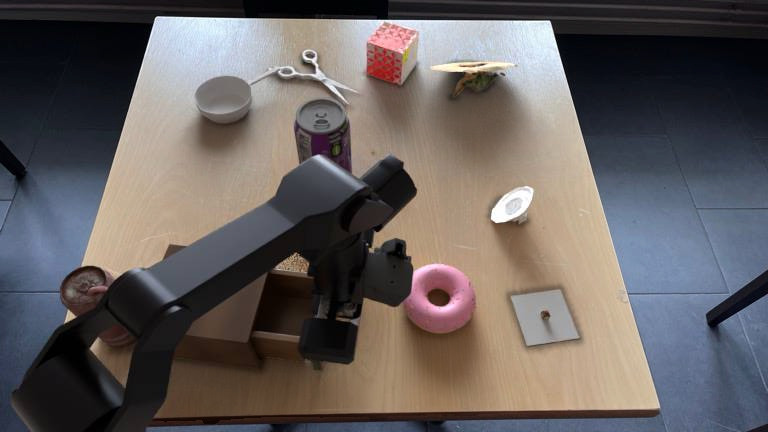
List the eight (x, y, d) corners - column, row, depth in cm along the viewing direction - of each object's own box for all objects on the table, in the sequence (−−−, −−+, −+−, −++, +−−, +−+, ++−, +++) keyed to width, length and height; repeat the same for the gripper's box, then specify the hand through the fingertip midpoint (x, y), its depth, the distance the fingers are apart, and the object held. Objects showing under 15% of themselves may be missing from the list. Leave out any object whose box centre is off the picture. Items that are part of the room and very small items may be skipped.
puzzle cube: (400, 85, 107) (402, 53, 100) (366, 74, 108) (366, 41, 102) (416, 63, 111) (419, 31, 104) (383, 52, 113) (384, 20, 106)
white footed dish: (508, 234, 90) (517, 240, 82) (485, 215, 90) (492, 219, 82) (539, 200, 90) (552, 202, 82) (516, 180, 90) (527, 180, 82)
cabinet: (281, 288, 79) (272, 256, 71) (260, 369, 72) (247, 343, 64) (188, 277, 80) (169, 243, 72) (158, 355, 73) (132, 328, 65)
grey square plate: (560, 289, 80) (564, 283, 79) (579, 338, 76) (583, 333, 74) (510, 296, 79) (513, 290, 78) (527, 345, 75) (530, 341, 73)
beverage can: (354, 194, 90) (352, 133, 78) (302, 198, 89) (292, 137, 77) (349, 156, 95) (347, 92, 83) (301, 159, 94) (291, 96, 82)
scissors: (303, 45, 112) (374, 85, 105) (304, 48, 113) (374, 88, 106) (267, 69, 107) (339, 113, 100) (268, 72, 108) (339, 116, 101)
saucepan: (189, 104, 102) (183, 88, 99) (268, 68, 109) (265, 52, 106) (215, 135, 97) (210, 120, 94) (296, 96, 104) (294, 80, 101)
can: (143, 351, 73) (102, 307, 62) (98, 350, 73) (47, 306, 61) (155, 311, 76) (117, 263, 65) (111, 310, 76) (66, 262, 65)
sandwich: (462, 82, 117) (469, 47, 114) (516, 100, 109) (526, 63, 105) (409, 91, 105) (414, 52, 102) (465, 112, 97) (473, 71, 93)
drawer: (366, 300, 77) (366, 274, 71) (354, 375, 71) (353, 354, 64) (248, 285, 78) (237, 258, 72) (225, 358, 72) (211, 336, 65)
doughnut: (422, 260, 83) (424, 246, 79) (485, 292, 80) (490, 279, 76) (387, 314, 77) (388, 302, 74) (454, 351, 74) (458, 340, 71)
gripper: (402, 343, 50) (395, 391, 63) (418, 191, 61) (409, 259, 74) (288, 328, 51) (304, 379, 64) (324, 181, 61) (332, 250, 74)
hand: (342, 312), depth 69 cm, fingers closed
